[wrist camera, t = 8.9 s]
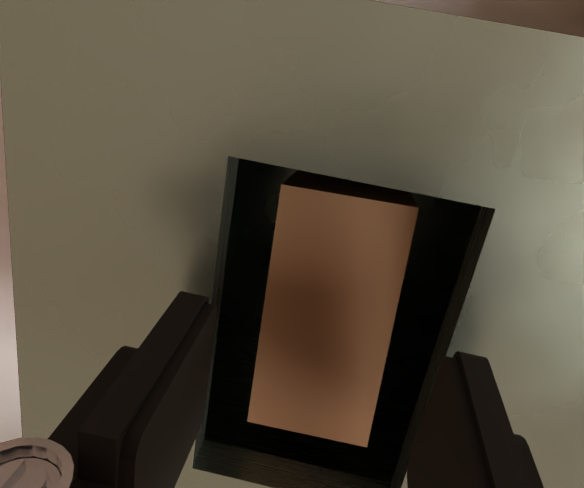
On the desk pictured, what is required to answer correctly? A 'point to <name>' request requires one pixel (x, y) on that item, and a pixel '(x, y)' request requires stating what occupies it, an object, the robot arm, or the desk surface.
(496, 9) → the desk surface
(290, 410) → the block
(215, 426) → the box
